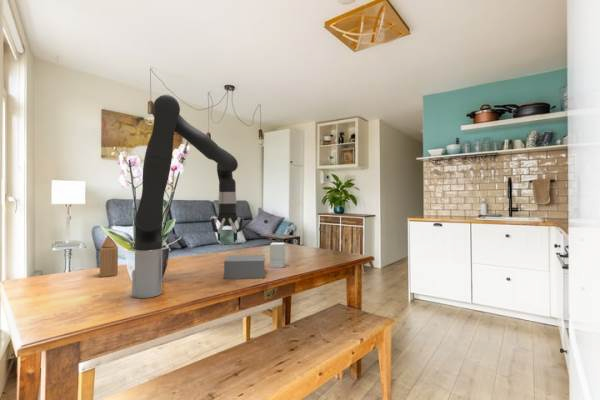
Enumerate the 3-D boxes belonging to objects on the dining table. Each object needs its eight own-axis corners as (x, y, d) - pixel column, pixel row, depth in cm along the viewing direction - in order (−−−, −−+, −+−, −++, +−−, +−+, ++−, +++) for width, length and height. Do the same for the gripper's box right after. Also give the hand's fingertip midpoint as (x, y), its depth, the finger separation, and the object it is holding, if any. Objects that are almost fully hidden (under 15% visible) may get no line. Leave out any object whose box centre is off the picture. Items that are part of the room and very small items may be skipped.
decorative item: (99, 277, 136) (99, 234, 136) (101, 274, 142) (101, 232, 142) (116, 276, 139) (116, 233, 139) (117, 272, 145) (118, 231, 145)
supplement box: (285, 265, 164) (285, 242, 164) (283, 268, 157) (283, 244, 157) (272, 264, 165) (272, 242, 165) (269, 267, 158) (269, 243, 158)
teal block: (220, 243, 126) (219, 230, 126) (222, 242, 131) (222, 229, 131) (233, 243, 126) (233, 230, 126) (234, 241, 132) (234, 229, 132)
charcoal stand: (224, 279, 134) (224, 261, 134) (228, 270, 150) (228, 254, 150) (264, 278, 136) (264, 260, 136) (264, 270, 152) (264, 254, 152)
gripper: (208, 202, 124) (208, 243, 124) (243, 202, 126) (243, 242, 126) (212, 202, 132) (212, 240, 132) (245, 202, 133) (245, 240, 133)
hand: (227, 241), depth 129 cm, fingers closed on teal block, 5 cm apart
